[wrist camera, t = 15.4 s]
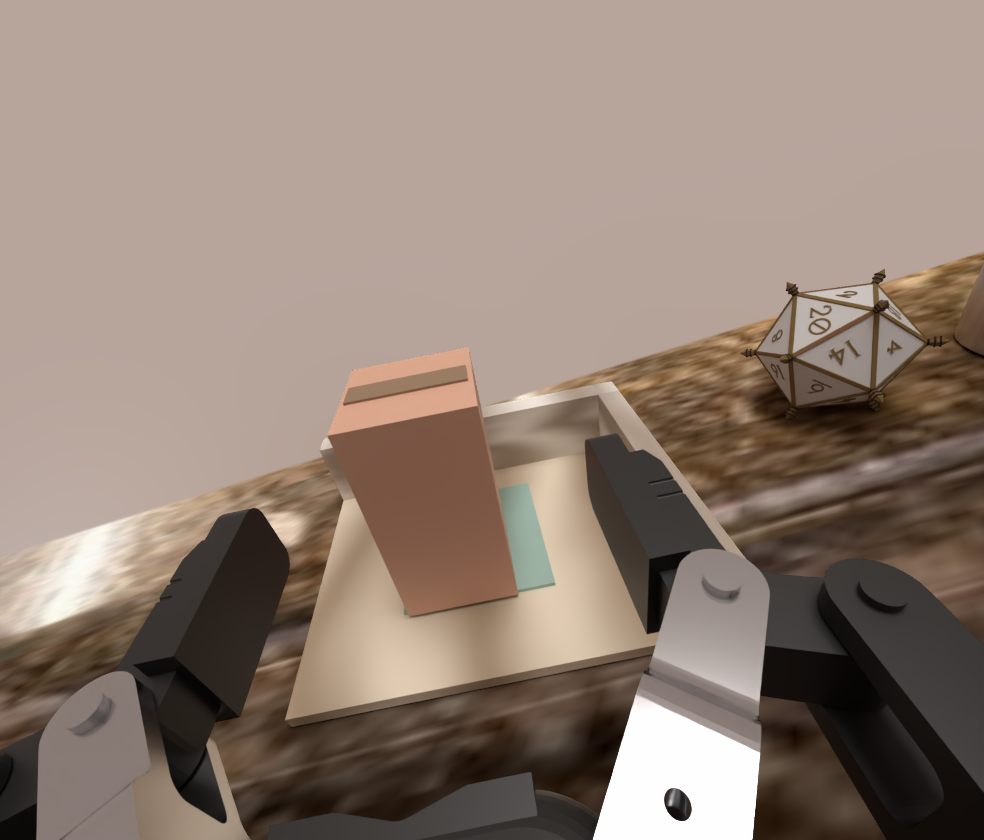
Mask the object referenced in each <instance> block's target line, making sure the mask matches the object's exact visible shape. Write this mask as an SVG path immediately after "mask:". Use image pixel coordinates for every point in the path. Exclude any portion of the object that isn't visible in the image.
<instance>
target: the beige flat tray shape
mask: <svg viewBox="0 0 984 840" xmlns="http://www.w3.org/2000/svg"><path fill="white" fill-rule="evenodd" d="M481 410H482V414H483V419H484V424H485V429H486V433H487V438H488V443H489V448H490V452H491V457H492V462H493V467H494V471H495V476H496V481H497V486H498V490H499V495H500V500H501V505H502V509H503V514H504V519H505V525H506V530H507V536H508V541H509V547H510V552H511V557H512V563H513V568H514V574H515V579H516V585H517V590H518V595H514V596H509V597H504V598H499V599H494V600H489V601H484V602H479V603H474V604H469V605H464V606H459V607H454V608H449V609H444V610H439V611H434V612H429V613H424V614H419V615H414V616H408V613H407V611H406V609H405V607H404V605H403V602H402V600H401V598H400V596H399V593H398V591H397V589H396V587H395V585H394V582H393V580H392V578H391V576H390V574H389V571H388V569H387V567H386V565H385V563H384V560H383V558H382V556H381V554H380V551H379V549H378V547H377V545H376V543H375V540H374V538H373V536H372V534H371V532H370V529H369V527H368V525H367V523H366V521H365V518H364V516H363V514H362V512H361V509H360V507H359V505H358V503H357V501H356V498H355V496H354V494H353V492H352V490H351V487H350V485H349V483H348V481H347V478H346V476H345V474H344V472H343V470H342V467H341V465H340V463H339V461H338V459H337V456H336V454H335V452H334V450H333V448H332V445H331V443H330V441H329V439H328V438H326V439H324V441H323V443H322V446H321V449H320V452H321V454H322V456H323V458H324V460H325V462H326V464H327V467H328V469H329V471H330V473H331V475H332V477H333V479H334V481H335V483H336V486H337V488H338V490H339V492H340V494H341V496H342V498H343V500H344V501H343V505H342V509H341V512H340V516H339V520H338V524H337V528H336V531H335V535H334V539H333V543H332V546H331V550H330V554H329V558H328V561H327V565H326V569H325V573H324V576H323V580H322V584H321V588H320V591H319V595H318V599H317V603H316V606H315V610H314V614H313V618H312V621H311V625H310V629H309V633H308V636H307V640H306V644H305V648H304V651H303V655H302V659H301V663H300V666H299V670H298V674H297V678H296V681H295V685H294V689H293V693H292V696H291V700H290V704H289V708H288V711H287V715H286V719H285V720H286V721H287V723H288V724H289V725H290V726H291V727H294V726H299V725H304V724H309V723H314V722H319V721H324V720H329V719H334V718H339V717H344V716H349V715H354V714H359V713H364V712H369V711H373V710H378V709H383V708H388V707H393V706H398V705H403V704H408V703H413V702H418V701H423V700H428V699H433V698H438V697H443V696H448V695H453V694H458V693H463V692H468V691H472V690H477V689H482V688H487V687H492V686H497V685H502V684H507V683H512V682H517V681H522V680H527V679H532V678H537V677H542V676H547V675H552V674H557V673H562V672H566V671H571V670H576V669H581V668H586V667H591V666H596V665H601V664H606V663H611V662H616V661H621V660H626V659H631V658H636V657H641V656H646V655H651V654H653V653H654V650H655V646H656V643H657V639H658V636H659V632H656V633H651V634H646V632H645V629H644V627H643V625H642V622H641V620H640V618H639V615H638V613H637V611H636V608H635V606H634V604H633V601H632V599H631V597H630V594H629V592H628V590H627V587H626V585H625V583H624V580H623V578H622V576H621V573H620V571H619V569H618V566H617V564H616V562H615V559H614V557H613V555H612V553H611V550H610V548H609V546H608V543H607V541H606V539H605V536H604V534H603V532H602V529H601V527H600V525H599V522H598V520H597V518H596V515H595V513H594V510H593V508H592V504H591V501H590V497H589V492H588V483H587V470H586V457H585V440H586V439H590V438H595V437H600V436H604V435H609V434H614V433H617V434H618V435H619V436H620V438H621V440H622V441H623V443H624V444H625V446H626V448H627V449H628V451H629V452H633V451H638V450H642V449H644V450H646V451H647V452H649V453H650V454H652V455H653V456H655V457H656V458H658V459H660V460H661V461H662V462H663V463H664V465H665V466H666V467H667V469H668V470H669V472H670V473H671V474H672V476H673V479H674V480H676V482H677V483H678V484H679V486H680V487H681V489H682V490H683V493H684V494H686V496H687V497H688V498H689V500H690V501H691V503H692V504H693V505H694V507H695V508H696V510H697V511H698V512H699V514H700V515H701V517H702V518H703V519H704V521H705V522H706V524H707V525H708V527H709V528H710V529H711V531H712V532H713V534H714V535H715V536H716V538H717V539H718V541H719V542H720V543H721V545H722V546H723V547H724V548H725V550H726V551H729V552H732V553H735V554H737V555H739V556H741V557H743V558H745V557H744V556H743V554H742V553H741V552H740V550H739V549H738V548H737V547H736V545H735V544H734V543H733V541H732V540H731V539H730V537H729V536H728V535H727V533H726V532H725V531H724V529H723V528H722V527H721V525H720V524H719V523H718V521H717V520H716V519H715V517H714V516H713V515H712V514H711V512H710V511H709V510H708V508H707V507H706V506H705V504H704V503H703V502H702V500H701V499H700V498H699V496H698V495H697V494H696V492H695V491H694V490H693V488H692V487H691V486H690V484H689V483H688V482H687V480H686V479H685V478H684V477H683V475H682V474H681V473H680V471H679V470H678V469H677V467H676V466H675V465H674V463H673V462H672V461H671V459H670V458H669V457H668V455H667V454H666V453H665V451H664V450H663V449H662V447H661V446H660V445H659V444H658V442H657V441H656V440H655V438H654V437H653V436H652V434H651V433H650V432H649V430H648V429H647V428H646V426H645V425H644V424H643V422H642V421H641V420H640V418H639V417H638V416H637V414H636V413H635V412H634V410H633V409H632V408H631V407H630V405H629V404H628V403H627V401H626V400H625V399H624V397H623V396H622V395H621V393H620V392H619V391H618V389H617V388H616V387H615V385H614V384H613V383H612V381H610V382H605V383H600V384H595V385H590V386H585V387H580V388H575V389H570V390H565V391H560V392H555V393H550V394H545V395H540V396H535V397H530V398H525V399H520V400H515V401H510V402H505V403H501V404H496V405H491V406H486V407H481ZM745 559H746V558H745Z"/></svg>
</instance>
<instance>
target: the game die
mask: <svg viewBox="0 0 984 840" xmlns="http://www.w3.org/2000/svg"><path fill="white" fill-rule="evenodd" d="M874 275H875V276H874V277H873V278H872V279H873V281H872V283H869V284H861V285H853V286H846V287H838V288H831V289H824V290H816V291H808V292H801V293H799V292H798V290H797V289H798V288H797V287H796V284H791V283H788V282H787V289H786V291H788V294H791V295H792V298H791V299H790V301H789V302H788V304H787V305H786V307H785V308H784V309H783V311H782V312H781V314H780V315H779V317H778V318H777V320H776V321H775V323H774V324H773V326H772V327H771V329H770V330H769V332H768V333H767V335H766V336H765V337H764V339H763V340H762V342H761V343H760V345H759V346H758V348H757V349H756V350H752V349H749V350H748V349H746V350H745V351H743V352H742V353H740V354H742V355H744V356H746V357H748V356H750V357H752V356H753V355H756V356H757V357H758V359H759V360H760V362H761V363H762V364H763V366H764V367H765V369H766V370H767V371H768V373H769V374H770V376H771V377H772V379H773V380H774V381H775V383H776V384H777V386H778V387H779V389H780V390H781V391H782V393H783V394H784V396H785V397H786V398H787V400H788V401H789V403H790V404H791V408H790V409H787V410H788V411H787V412H785V413H786V420H787V419H789V418H792V417H795V416H794V415H795V413H796V410H797V409H798V408H807V407H817V406H828V405H838V404H849V403H859V402H867V406H869V409H872V410H875V411H878V407H879V403H877V401H878V402H883V399H884V393H881V391H882V390H883V389H884V388H885V387H886V386H887V385H888V384H889V383H890V382H891V381H892V380H893V379H894V378H895V377H896V376H897V375H898V374H899V373H900V372H901V371H902V370H903V369H904V368H905V367H906V366H907V365H908V364H909V363H910V362H911V361H912V360H913V359H914V358H915V357H916V356H917V355H918V354H919V353H920V352H921V351H922V350H923V349H924V348H925V347H926V346H928V345H931V346H933V347H935V346H940V347H941V346H942V345H944V344H946V343H948V342H950V341H951V340H948V339H945V338H943V337H942V336H940V337H938V338H936V337H934V338H932V339H927V338H926V337H925V336H924V335H923V334H922V333H921V332H920V331H919V329H918V328H917V327H916V326H915V325H914V324H913V323H912V322H911V321H910V319H909V318H908V317H907V316H906V315H905V314H904V313H903V312H902V310H901V309H900V308H899V307H898V306H897V305H896V304H895V303H894V302H893V300H892V299H891V298H890V297H889V296H888V295H887V294H886V293H885V292H884V290H883V289H882V288H881V287H880V286H879V285H878V284H879V283H880V282H882V281H883V278H885V277H886V276H885V269H884V270H882V271H880V272H878V273H876V274H874Z"/></svg>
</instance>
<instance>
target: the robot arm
mask: <svg viewBox="0 0 984 840" xmlns="http://www.w3.org/2000/svg"><path fill="white" fill-rule="evenodd" d="M954 335H955V339H956V340H957V341H958V342H959V343H960V344H961V345H963V346H965V347H966V348H968V349H970V350H972V351H974V352H976V353H979V354H981V355H983V356H984V264H983V267H982V269H981V271H980V274H979V276H978V278H977V280H976V282H975V285H974V287H973V289H972V292H971V294H970V297H969V299H968V301H967V304H966V306H965V308H964V311H963V313H962V316H961V318H960V320H959V323H958V325H957V327H956V330H955V332H954ZM585 457H586V470H587V483H588V492H589V497H590V501H591V504H592V508H593V510H594V513H595V515H596V518H597V520H598V522H599V525H600V527H601V529H602V532H603V534H604V536H605V539H606V541H607V543H608V546H609V548H610V550H611V553H612V555H613V557H614V559H615V562H616V564H617V566H618V569H619V571H620V573H621V576H622V578H623V580H624V583H625V585H626V587H627V590H628V592H629V594H630V597H631V599H632V601H633V604H634V606H635V608H636V611H637V613H638V615H639V618H640V620H641V622H642V625H643V627H644V629H645V632H646V634H651V633H656V632H659V636H658V639H657V643H656V646H655V650H654V653H653V657H652V660H651V663H650V666H649V668H648V670H645V672H644V673H643V676H642V678H641V681H640V684H639V687H638V690H637V693H636V696H635V700H634V703H633V707H632V710H631V713H630V717H629V720H628V724H627V727H626V730H625V734H624V737H623V740H622V744H621V747H620V751H619V754H618V757H617V761H616V764H615V768H614V771H613V774H612V778H611V781H610V784H609V788H608V791H607V795H606V798H605V801H604V805H603V808H602V812H601V815H599V814H597V813H596V812H594V811H593V810H591V809H590V808H588V807H587V806H585V805H584V804H582V803H580V802H578V801H575V800H573V799H571V798H569V797H567V796H564V795H561V794H557V793H554V792H550V791H544V790H537V788H536V785H535V782H534V779H533V776H532V773H531V772H528V773H523V774H518V775H514V776H509V777H504V778H499V779H494V780H489V781H485V782H480V783H475V784H470V785H466V786H464V787H463V788H461V789H459V790H457V791H455V792H454V793H452V794H450V795H448V796H446V797H445V798H443V799H441V800H439V801H437V802H436V803H434V804H432V805H430V806H428V807H427V808H425V809H423V810H421V811H419V812H418V813H416V814H414V815H412V816H410V817H409V818H407V819H404V820H402V821H398V822H391V821H385V820H379V819H372V818H366V817H359V816H353V815H346V814H340V813H330V814H325V815H320V816H315V817H310V818H305V819H301V820H296V821H291V822H286V823H281V824H276V825H272V826H270V828H269V833H268V837H267V840H752V833H753V822H754V811H755V800H756V789H757V779H758V768H759V757H760V745H761V721H760V720H759V699H760V696H767V697H773V698H780V699H786V700H793V701H800V702H805V703H806V705H807V707H808V708H809V710H810V712H811V713H812V715H813V717H814V718H815V720H816V722H817V723H818V725H819V727H820V728H821V730H822V732H823V733H824V735H825V737H826V739H827V740H828V742H829V744H830V745H831V747H832V749H833V750H834V752H835V754H836V755H837V757H838V759H839V760H840V762H841V764H842V765H843V767H844V769H845V770H846V772H847V774H848V775H849V777H850V779H851V780H852V782H853V784H854V785H855V787H856V789H857V790H858V792H859V794H860V795H861V797H862V799H863V800H864V802H865V804H866V805H867V807H868V809H869V811H870V812H871V814H872V816H873V817H874V819H875V821H876V822H877V824H878V826H879V827H880V829H881V831H882V832H883V834H884V836H885V837H886V839H887V840H984V644H983V643H982V642H981V641H980V640H979V639H978V638H977V637H976V636H975V635H974V634H973V633H972V632H971V631H970V630H969V629H967V628H966V627H965V626H964V625H963V624H962V623H961V622H960V621H959V620H958V619H957V618H956V617H955V616H954V615H953V614H952V613H951V612H950V611H949V610H948V609H947V608H946V607H945V606H944V605H943V604H942V603H941V602H940V601H939V600H938V599H937V598H936V597H935V596H934V595H933V594H932V593H931V592H930V591H929V590H928V589H927V588H926V587H924V586H923V585H922V584H921V583H920V582H919V581H917V580H916V579H914V578H913V577H912V576H910V575H908V574H906V573H905V572H903V571H901V570H899V569H897V568H895V567H892V566H890V565H887V564H884V563H881V562H877V561H873V560H867V559H846V560H842V561H839V562H837V563H835V564H833V565H832V566H831V567H830V568H829V569H828V571H827V572H826V575H825V578H816V577H804V576H791V575H780V574H772V573H768V572H764V571H760V570H758V569H757V568H756V566H754V565H753V564H752V563H751V562H749V561H748V560H746V559H745V558H743V557H741V556H739V555H737V554H735V553H732V552H729V551H726V550H725V548H724V547H723V546H722V545H721V543H720V542H719V541H718V539H717V538H716V536H715V535H714V534H713V532H712V531H711V529H710V528H709V527H708V525H707V524H706V522H705V521H704V519H703V518H702V517H701V515H700V514H699V512H698V511H697V510H696V508H695V507H694V505H693V504H692V503H691V501H690V500H689V498H688V497H687V496H686V494H684V493H683V490H682V489H681V487H680V486H679V484H678V483H677V482H676V480H674V479H673V476H672V474H671V473H670V472H669V470H668V469H667V467H666V466H665V465H664V463H663V462H662V461H661V460H660V459H658V458H656V457H655V456H653V455H652V454H650V453H649V452H647V451H646V450H644V449H642V450H638V451H633V452H629V451H628V449H627V448H626V446H625V444H624V443H623V441H622V440H621V438H620V436H619V435H618V434H617V433H614V434H609V435H604V436H600V437H595V438H590V439H586V440H585ZM289 568H290V562H289V556H288V552H287V550H286V548H285V546H284V545H283V543H282V542H281V540H280V539H279V537H278V536H277V534H276V533H275V531H274V530H273V528H272V527H271V525H270V524H269V522H268V521H267V519H266V518H265V516H264V515H263V513H262V512H261V511H260V510H258V509H256V508H252V509H247V510H243V511H238V512H233V513H228V514H224V515H221V516H220V517H219V518H218V519H217V520H216V522H215V523H214V525H213V527H212V529H211V530H210V532H209V534H208V536H207V537H206V539H205V540H203V541H201V542H200V543H199V544H198V545H197V546H196V547H195V548H194V549H193V550H192V551H191V552H190V553H189V554H188V555H187V556H186V557H185V558H184V559H183V560H182V562H181V564H180V565H179V567H178V569H177V570H176V572H175V574H174V575H173V577H172V578H171V580H170V582H171V584H170V585H167V587H166V588H165V590H164V592H163V593H162V595H161V597H160V602H158V603H156V605H155V607H154V608H153V610H152V611H151V613H150V615H149V616H148V618H147V620H146V621H145V623H144V625H143V626H142V628H141V630H140V631H139V633H138V635H137V636H136V638H135V640H134V641H133V643H132V644H131V646H130V648H129V649H128V651H127V653H126V654H125V656H124V658H123V659H122V661H121V663H120V664H119V666H118V668H117V669H116V671H115V672H112V673H109V674H106V675H104V676H101V677H99V678H97V679H95V680H94V681H92V682H90V683H89V684H87V685H86V686H84V687H83V688H82V689H80V690H79V691H78V692H77V693H75V694H74V695H73V696H72V697H71V698H70V699H69V700H68V701H67V702H65V703H64V704H63V706H62V707H61V708H60V709H59V710H58V711H57V712H56V714H55V715H54V716H53V718H52V719H51V720H50V722H49V723H48V725H47V727H46V728H45V729H43V730H41V731H39V732H37V733H35V734H33V735H31V736H29V737H27V738H25V739H22V740H20V741H18V742H16V743H14V744H12V745H10V746H8V747H6V748H4V749H2V750H0V840H251V839H250V838H249V837H248V835H247V834H246V832H245V830H244V828H243V826H242V824H241V821H240V818H239V815H238V812H237V809H236V806H235V803H234V800H233V796H232V793H231V790H230V787H229V784H228V781H227V777H226V774H225V771H224V768H223V765H222V762H221V759H220V755H219V752H218V749H217V746H216V744H215V742H214V741H213V740H212V739H211V738H210V734H211V731H212V729H213V726H214V723H215V722H218V721H223V720H228V719H233V718H238V717H240V716H241V713H242V710H243V707H244V704H245V701H246V698H247V695H248V692H249V689H250V686H251V683H252V680H253V677H254V674H255V672H256V669H257V666H258V663H259V660H260V657H261V654H262V651H263V648H264V645H265V642H266V639H267V636H268V633H269V630H270V628H271V625H272V622H273V619H274V616H275V613H276V610H277V607H278V604H279V601H280V598H281V595H282V592H283V589H284V586H285V583H286V581H287V578H288V574H289Z"/></svg>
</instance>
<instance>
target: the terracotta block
mask: <svg viewBox="0 0 984 840" xmlns="http://www.w3.org/2000/svg"><path fill="white" fill-rule="evenodd" d="M327 436H328V439H329V441H330V443H331V445H332V448H333V450H334V452H335V454H336V456H337V459H338V461H339V463H340V465H341V467H342V470H343V472H344V474H345V476H346V478H347V481H348V483H349V485H350V487H351V490H352V492H353V494H354V496H355V498H356V501H357V503H358V505H359V507H360V509H361V512H362V514H363V516H364V518H365V521H366V523H367V525H368V527H369V529H370V532H371V534H372V536H373V538H374V540H375V543H376V545H377V547H378V549H379V551H380V554H381V556H382V558H383V560H384V563H385V565H386V567H387V569H388V571H389V574H390V576H391V578H392V580H393V582H394V585H395V587H396V589H397V591H398V593H399V596H400V598H401V600H402V602H403V605H404V607H405V609H406V611H407V613H408V616H414V615H419V614H424V613H429V612H434V611H439V610H444V609H449V608H454V607H459V606H464V605H469V604H474V603H479V602H484V601H489V600H494V599H499V598H504V597H509V596H514V595H518V590H517V585H516V579H515V574H514V568H513V563H512V557H511V552H510V547H509V541H508V536H507V530H506V525H505V519H504V514H503V509H502V505H501V500H500V495H499V490H498V486H497V481H496V476H495V471H494V467H493V462H492V457H491V452H490V448H489V443H488V438H487V433H486V429H485V424H484V419H483V414H482V410H481V405H480V400H479V396H478V391H477V386H476V382H475V377H474V372H473V367H472V362H471V358H470V353H469V348H468V347H467V348H462V349H457V350H452V351H447V352H442V353H437V354H432V355H427V356H422V357H417V358H412V359H407V360H402V361H397V362H392V363H387V364H382V365H377V366H372V367H367V368H362V369H357V370H353V371H352V373H351V375H350V378H349V380H348V383H347V386H346V388H345V391H344V393H343V396H342V399H341V401H340V404H339V407H338V409H337V412H336V414H335V417H334V419H333V422H332V425H331V427H330V430H329V433H328V435H327Z"/></svg>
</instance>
